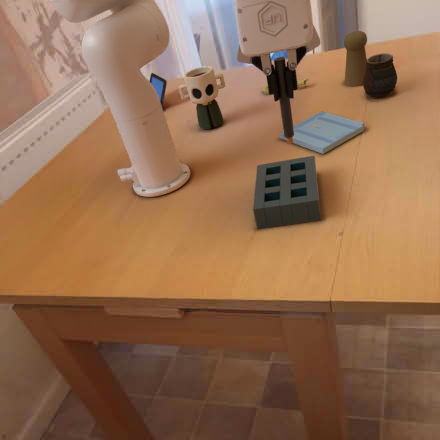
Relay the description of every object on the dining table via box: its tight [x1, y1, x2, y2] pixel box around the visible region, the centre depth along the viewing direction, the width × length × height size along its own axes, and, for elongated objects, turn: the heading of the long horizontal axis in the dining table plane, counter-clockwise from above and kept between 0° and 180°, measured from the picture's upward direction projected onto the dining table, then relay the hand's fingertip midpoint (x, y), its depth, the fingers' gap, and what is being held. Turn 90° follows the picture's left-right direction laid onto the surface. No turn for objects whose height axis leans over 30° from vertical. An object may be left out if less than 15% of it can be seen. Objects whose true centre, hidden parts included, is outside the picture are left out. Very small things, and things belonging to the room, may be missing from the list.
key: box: [262, 78, 310, 95], centre depth 124 cm, size 7×12×2 cm, turn 73°
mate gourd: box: [362, 52, 398, 99], centre depth 104 cm, size 7×8×10 cm
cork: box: [343, 30, 368, 87], centre depth 112 cm, size 6×6×11 cm
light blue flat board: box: [279, 110, 366, 155], centre depth 99 cm, size 14×12×1 cm
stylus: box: [273, 56, 294, 145], centre depth 72 cm, size 2×2×13 cm
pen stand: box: [252, 155, 322, 230], centre depth 82 cm, size 11×15×4 cm
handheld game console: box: [149, 72, 168, 111], centre depth 135 cm, size 12×11×7 cm
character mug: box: [178, 65, 226, 130], centre depth 113 cm, size 11×7×13 cm, turn 97°
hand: (284, 95), depth 72 cm, fingers closed on stylus, 1 cm apart
